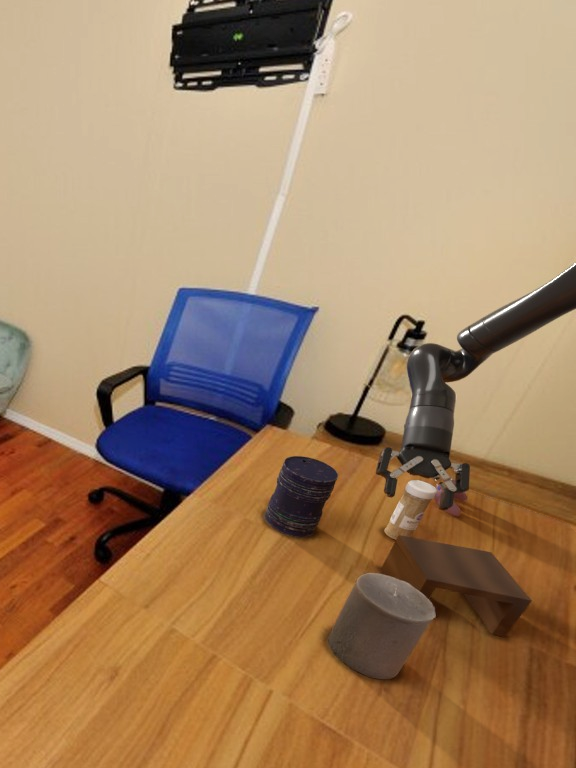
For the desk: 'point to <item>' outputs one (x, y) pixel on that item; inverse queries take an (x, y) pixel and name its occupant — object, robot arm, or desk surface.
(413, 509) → the sprinkles bottle
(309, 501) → the navy ridged cylinder
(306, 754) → the desk surface
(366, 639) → the pillar candle
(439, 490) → the video game controller
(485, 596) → the shelf
